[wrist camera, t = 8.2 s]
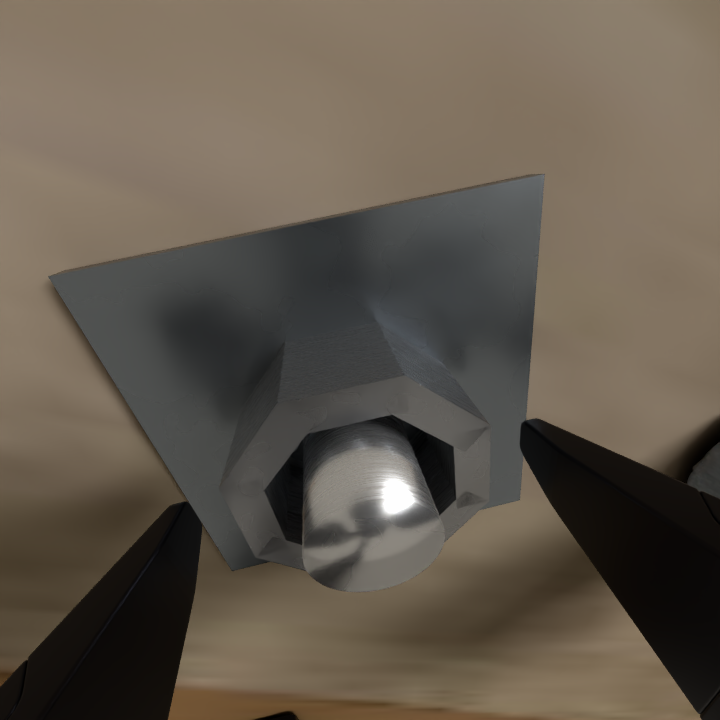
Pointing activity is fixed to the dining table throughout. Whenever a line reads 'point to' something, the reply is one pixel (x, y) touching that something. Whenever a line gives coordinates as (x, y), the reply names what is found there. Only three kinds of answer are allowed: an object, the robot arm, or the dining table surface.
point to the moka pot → (707, 473)
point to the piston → (318, 316)
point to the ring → (343, 407)
